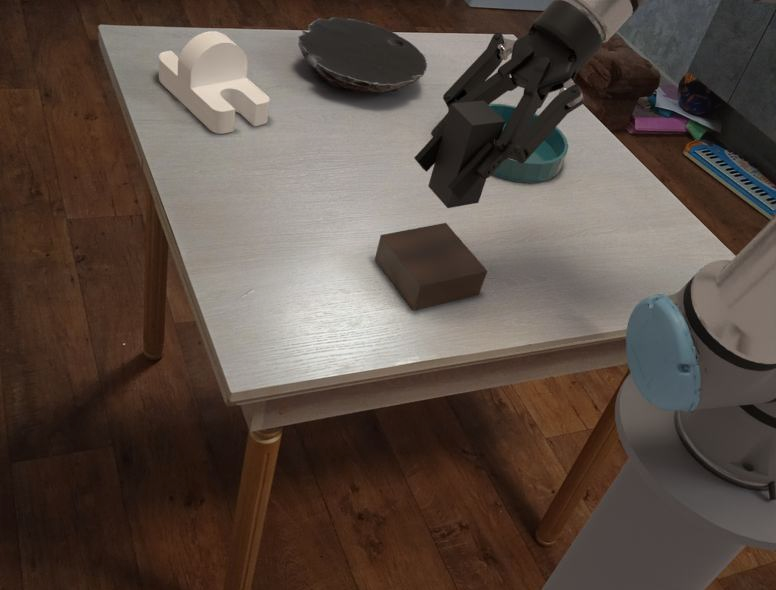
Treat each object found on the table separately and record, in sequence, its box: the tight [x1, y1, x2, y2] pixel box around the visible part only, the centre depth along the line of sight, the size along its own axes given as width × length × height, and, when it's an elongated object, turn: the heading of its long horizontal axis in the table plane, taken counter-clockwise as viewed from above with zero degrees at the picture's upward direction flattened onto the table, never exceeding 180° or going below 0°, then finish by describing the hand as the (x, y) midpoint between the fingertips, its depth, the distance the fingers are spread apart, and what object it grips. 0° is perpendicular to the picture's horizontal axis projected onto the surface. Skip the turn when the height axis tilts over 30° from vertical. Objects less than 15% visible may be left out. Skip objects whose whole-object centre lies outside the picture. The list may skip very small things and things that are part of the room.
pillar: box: [427, 100, 505, 209], centre depth 95 cm, size 4×4×11 cm
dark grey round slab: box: [297, 16, 428, 93], centre depth 139 cm, size 22×22×5 cm
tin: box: [489, 103, 569, 184], centre depth 132 cm, size 17×17×4 cm
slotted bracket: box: [158, 30, 271, 135], centre depth 122 cm, size 18×10×10 cm, turn 40°
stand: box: [374, 222, 488, 311], centre depth 105 cm, size 10×10×4 cm
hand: (437, 178), depth 94 cm, fingers closed on pillar, 5 cm apart
